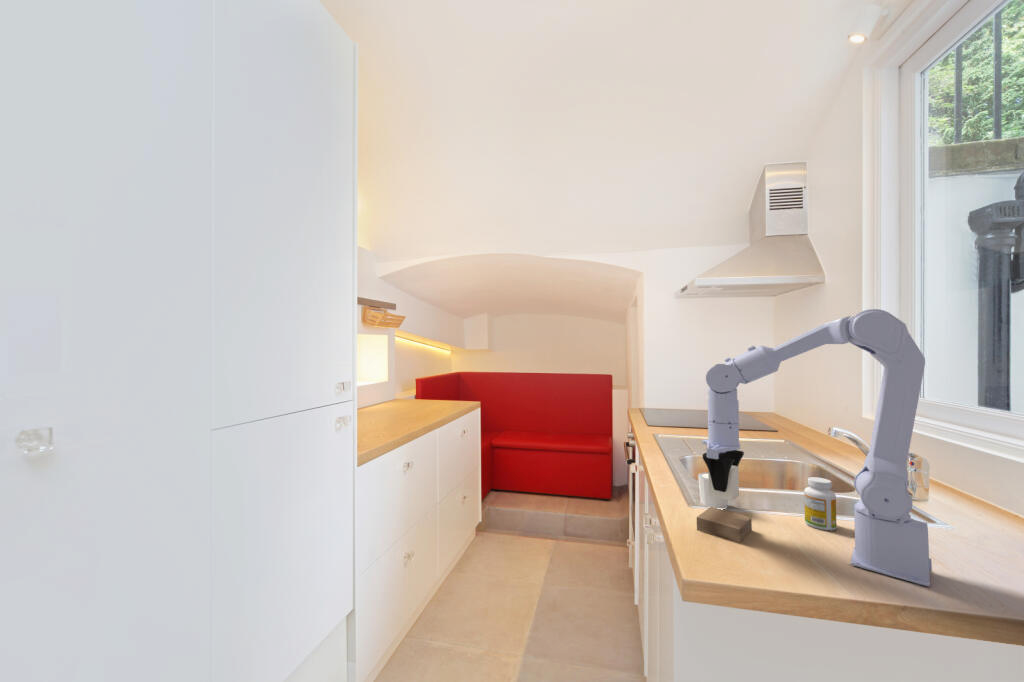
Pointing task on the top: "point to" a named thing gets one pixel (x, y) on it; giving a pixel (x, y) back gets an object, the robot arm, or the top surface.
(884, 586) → the top surface
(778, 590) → the top surface
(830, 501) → the supplement bottle
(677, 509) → the top surface
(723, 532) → the walnut block
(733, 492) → the cream block
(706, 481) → the white cup
